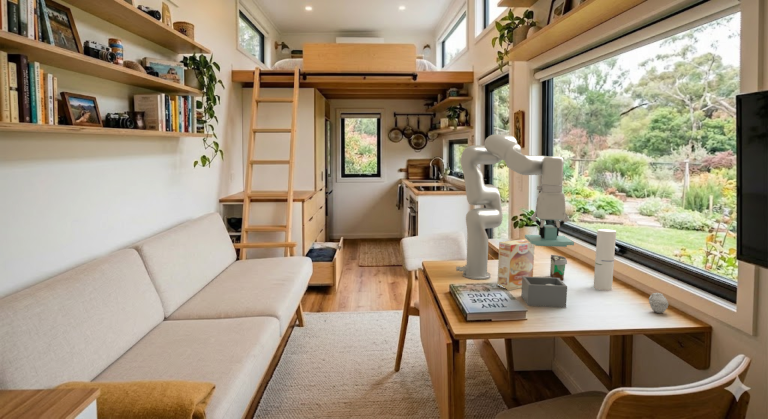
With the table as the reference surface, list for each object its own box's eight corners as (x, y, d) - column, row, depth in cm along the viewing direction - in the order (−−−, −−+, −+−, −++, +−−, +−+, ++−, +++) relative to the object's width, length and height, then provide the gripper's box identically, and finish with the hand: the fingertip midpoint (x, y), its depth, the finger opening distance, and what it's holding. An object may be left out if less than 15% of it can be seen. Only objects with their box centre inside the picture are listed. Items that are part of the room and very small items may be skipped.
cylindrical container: (610, 291, 193) (615, 232, 190) (592, 288, 197) (596, 230, 194) (612, 287, 199) (617, 230, 196) (594, 284, 203) (598, 228, 200)
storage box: (527, 305, 174) (528, 284, 173) (521, 295, 186) (522, 276, 185) (566, 307, 172) (567, 286, 171) (557, 297, 184) (558, 277, 183)
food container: (568, 283, 204) (569, 261, 203) (553, 282, 206) (555, 260, 204) (563, 276, 216) (564, 255, 215) (549, 275, 218) (550, 254, 216)
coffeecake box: (509, 290, 192) (511, 244, 190) (496, 286, 198) (498, 241, 196) (533, 285, 200) (535, 241, 198) (520, 281, 206) (522, 238, 204)
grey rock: (659, 309, 172) (661, 290, 171) (672, 315, 165) (673, 296, 164) (643, 309, 172) (645, 290, 171) (655, 315, 165) (657, 296, 164)
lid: (531, 246, 170) (532, 228, 170) (524, 240, 183) (525, 223, 182) (573, 248, 169) (574, 229, 168) (563, 241, 182) (564, 224, 181)
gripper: (530, 189, 171) (527, 238, 173) (577, 190, 169) (574, 240, 171) (526, 188, 178) (524, 235, 180) (571, 189, 176) (568, 236, 179)
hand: (548, 237), depth 176 cm, fingers closed on lid, 4 cm apart
